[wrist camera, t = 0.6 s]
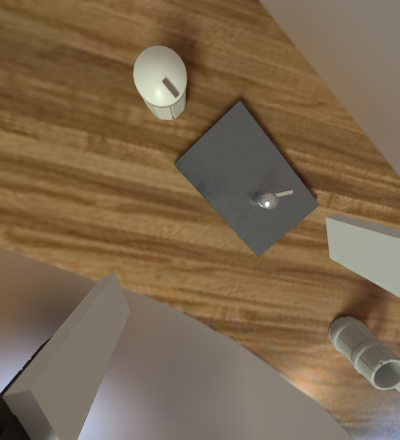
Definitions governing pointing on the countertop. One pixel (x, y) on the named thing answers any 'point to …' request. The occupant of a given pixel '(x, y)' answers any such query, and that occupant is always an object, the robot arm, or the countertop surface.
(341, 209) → the countertop surface
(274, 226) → the panel
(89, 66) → the countertop surface
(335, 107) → the countertop surface
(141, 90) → the knob
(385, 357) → the mug
